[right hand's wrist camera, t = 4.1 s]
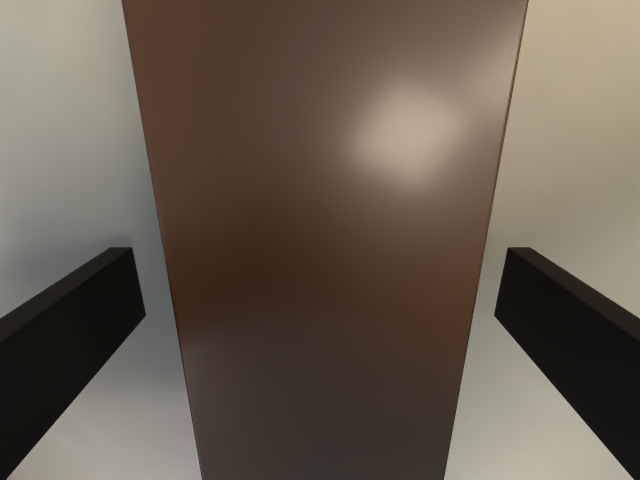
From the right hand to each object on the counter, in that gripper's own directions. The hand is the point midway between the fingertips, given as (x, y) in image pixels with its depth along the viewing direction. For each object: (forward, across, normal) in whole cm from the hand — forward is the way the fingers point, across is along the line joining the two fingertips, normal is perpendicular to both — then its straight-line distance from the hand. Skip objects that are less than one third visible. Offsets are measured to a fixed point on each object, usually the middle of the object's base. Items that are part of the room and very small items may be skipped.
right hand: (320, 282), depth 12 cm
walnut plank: (+2, 0, -10) cm, 10 cm away
